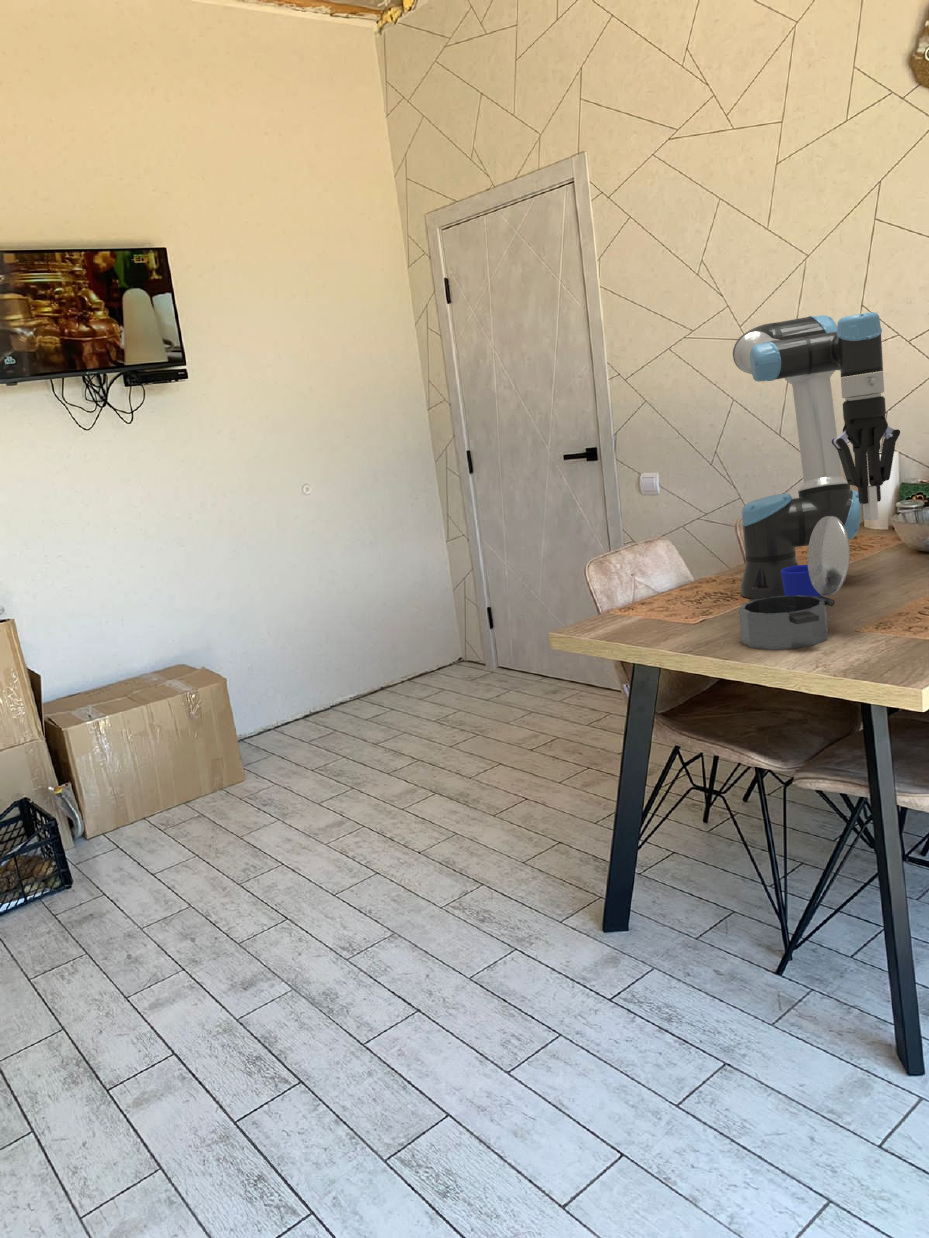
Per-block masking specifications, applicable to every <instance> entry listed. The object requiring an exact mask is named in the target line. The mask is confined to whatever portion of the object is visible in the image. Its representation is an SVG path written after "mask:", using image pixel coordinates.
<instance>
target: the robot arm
mask: <svg viewBox="0 0 929 1238" xmlns="http://www.w3.org/2000/svg"><path fill="white" fill-rule="evenodd" d="M882 332H883V329H882V327H881V321H880V315H879V314H878V312H874V311H873V312H871V311H870V312H864V313H857V314H852V315H847V316H843V317H841V318H839V319H838V321H837V322H835V320H834V319H833V318H832V317H831V316H829V315H824V314H823V315H816V316H813V315H809V316H805V317H799V318H796V319H789V320H784V321H777V322H769V323H764V324H762V325H758V326H756V327H753V328H751V329H749V330H748V331H746V332H745V333H743V334H742V335H741V336H739V337H738V339H737V340H736V342H735V344H734V346H733V349H732V358H733V363H734V364H735V366H736V367H737V368H738V369H739V370H740V371H742V372H743V373H746V374H750V375H752V379H753V380H754V381H755V382H773V381H775V380H782V379H784V380H785V381H786V382H788V383H789V384H790V385H791V387H792V394H793V401H794V411H795V419H796V420H795V421H796V426H797V435H798V436H797V437H798V443H799V444H798V445H799V453H800V461H801V469H802V479H803V484H802V485H801V486H800V487H799V489H798V497H797V498H793V497H792V495H791V494H790V493H788V492H786V493H778V494H772V495H768V496H764V497H760V498H758V499H757V498H756V499H754V500H752V501H749V502H747V503H746V504H745V505H743V507H742V509H741V527H742V534H743V542H744V543H743V544H744V545H743V546H744V555H745V567H744V570H743V576H742V579H741V584H740V594H741V596H742V597H744V598H745V599H747V598H748V599H756V598H762V597H768V596H770V597H774V596H785V594H784V588H783V582H782V576H781V570H782V569H784V568H787V567H791V566H798V565H799V563H798V561H797V555H796V553H797V552H796V548H801V547H808V546H809V541H810V537H811V534H812V532H813V529H814V527H815V526H816V524H817V523H818V522H819V520H821V519H822V518H823V517H826V516H834V517H837V518H838V519H839V520H841V522H842V523H843V525H844V526H845V529H846V531H847V534H848V539H849V541H851V540H852V539H853V538H855V537H856V535H857V534H858V531H859V529H860V528H859V527H860V523H861V517H862V516H861V515H862V509H863V520H865V521H877V520H879V508H878V507H879V506H878V502H881V500H882V495H881V493H882V492H881V491H882V490H881V486H883V484H884V483H885V482H886V481H890V478H891V474H892V469H893V468H892V467H893V461H894V454H895V448H896V442H897V440H898V438H899V436H900V434H901V430H900V429H897V428H896V429H894V428H892V427H891V426H889V423H888V421H887V420H886V414H887V412H886V410H887V409H886V398H885V397H884V396H883V395H882V394H883V393H885V381H884V378H885V377H884V363H883V362H884V361H883V345H882V343H883V341H882ZM836 371H840V387H841V398H842V399H845V401H843V403H842V417H843V418H842V419H843V422H844V425H843V428H842V433H840V435H839V436H838V433H837V426H836V425H837V424H836V418H835V408H834V399H833V398H834V397H833V391H832V383H831V378H832V376H833V374H834V373H835V372H836ZM882 438H884V439H883V442H882V447H881V440H882ZM849 442H850V444H851V445H852V452H853V453H854V458H853V456H852V453H851V449H850V446H849V445H848V444H849ZM880 450H881V452H880ZM880 453H881V454H880ZM853 459H854V460H853ZM841 465H842V466H841ZM842 470H843V474H844V476H845V478H844V477H843V476H842V475H843V474H842ZM851 486H854V487H856V488H857V490H855V489H852V490H851ZM861 505H862V506H861ZM861 508H862V509H861Z"/></svg>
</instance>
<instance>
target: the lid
mask: <svg viewBox="0 0 929 1238" xmlns="http://www.w3.org/2000/svg"><path fill="white" fill-rule="evenodd" d="M850 547H851V546H850V540H849V539H848V534H847V531H846V529H845V526H844V525H843V523H842V522H841V520H839V519H838V518H837V517H834V516H826V517H823V518H822V519H821V520H819V522H818V523H817V524H816V526H815V527H814V529H813V532H812V534H811V537H810V541H809V546H807V548H808V549H807V558H806V559H807V565H808V572H809V576H810V580H811V583H812V585H813V587H814V588H815V590H816V591H817V592H818V593H819V594H821V596H833V595H835V594H837V593H838V591H840V589H841V588H842V587H843V584H844V583H845V581H846V578H847V575H848V571H849V566H850V559H851V556H850V555H851V551H850Z"/></svg>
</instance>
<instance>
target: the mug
mask: <svg viewBox="0 0 929 1238" xmlns="http://www.w3.org/2000/svg"><path fill="white" fill-rule="evenodd" d="M781 576H782V582H783V588H784V594H785V596H789V595H803V596H816V597H817V596H819V595H821V594H819V593H818V592H817V591H816V590H815V588H814V587H813V585H812V583H811V580H810V576H809V572H808V564H800V565H799V564H798V566H791V567H787V568H784V569H782V570H781ZM821 596H822V595H821Z"/></svg>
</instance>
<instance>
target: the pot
mask: <svg viewBox="0 0 929 1238" xmlns="http://www.w3.org/2000/svg"><path fill="white" fill-rule="evenodd" d="M835 604H836V601H835V600H834V599H833V598H829V597H828V596H827V597H826V596H825V595H819V596H817V597H816V596H803V595H789V596H774V597H770V596H768V597H762V598H756V599H753V598H749V600H748V602H744V603H742V604H741V605H740V607H738V615H739V616H738V617H739V625H740V637H741V644H743V645H745V646H746V647H749V648H752V649H760V650H767V651H771V650H773V651H774V650H794V649H795V650H796V649H801V648H807V647H813V646H815V645H817V644H820V643H823V642H825V641H827V640H828V637H829V630H828V617H827V616H828V615H827V606H830V607H834V605H835Z"/></svg>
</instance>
